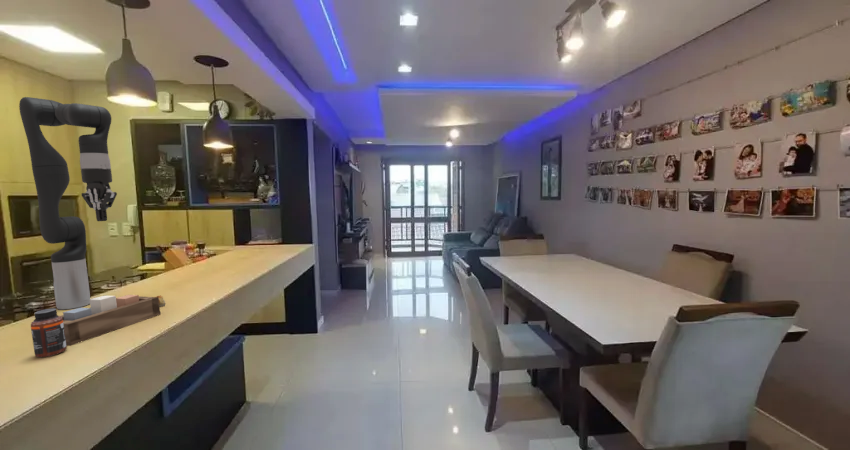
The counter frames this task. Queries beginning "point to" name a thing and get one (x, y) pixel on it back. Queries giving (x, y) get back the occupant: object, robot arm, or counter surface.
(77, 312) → the slate key
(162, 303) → the pastry
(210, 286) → the counter surface
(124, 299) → the pink block
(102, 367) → the counter surface
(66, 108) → the robot arm
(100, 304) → the white block
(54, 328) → the supplement bottle
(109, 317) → the brown wooden tray
